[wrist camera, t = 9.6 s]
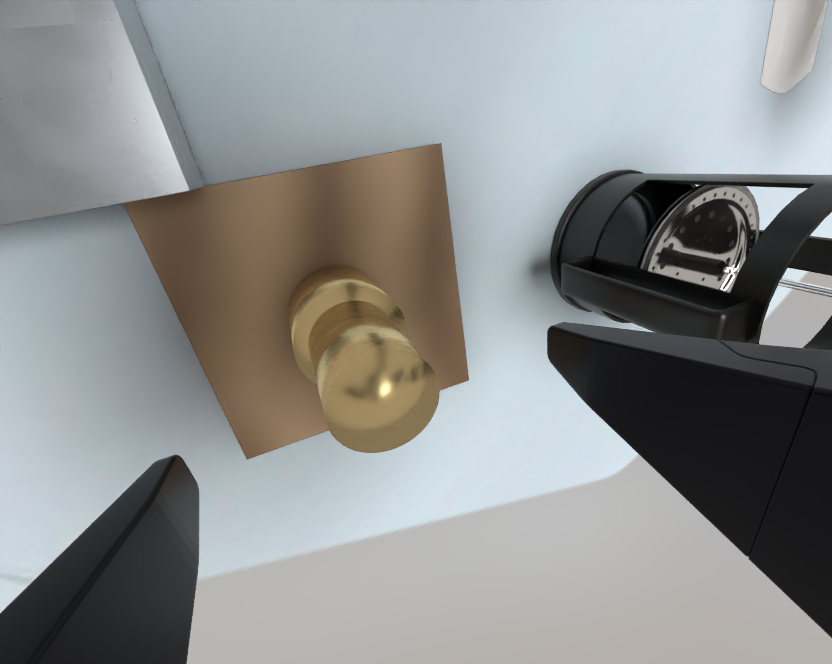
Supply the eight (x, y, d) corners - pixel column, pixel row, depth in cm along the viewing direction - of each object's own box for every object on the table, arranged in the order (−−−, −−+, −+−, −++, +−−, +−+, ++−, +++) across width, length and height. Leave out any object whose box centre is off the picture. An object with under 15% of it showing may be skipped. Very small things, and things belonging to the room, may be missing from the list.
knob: (373, 254, 19) (445, 311, 12) (391, 339, 22) (462, 435, 14) (274, 279, 18) (281, 362, 10) (304, 367, 20) (329, 488, 13)
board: (433, 144, 19) (441, 143, 19) (462, 372, 26) (469, 380, 25) (130, 200, 16) (122, 202, 15) (247, 448, 22) (246, 459, 21)
